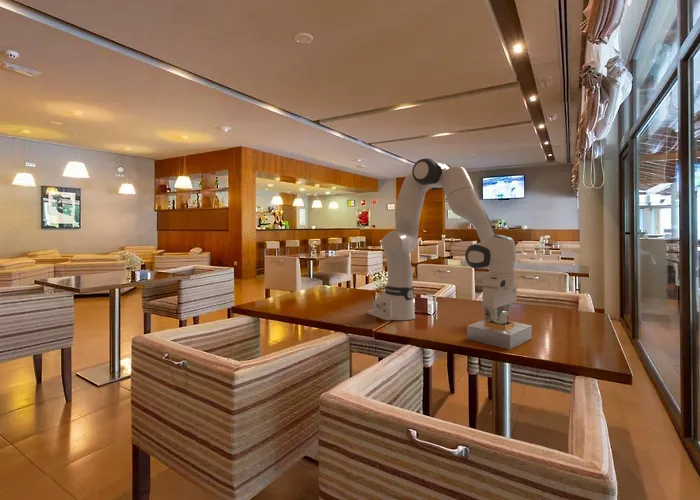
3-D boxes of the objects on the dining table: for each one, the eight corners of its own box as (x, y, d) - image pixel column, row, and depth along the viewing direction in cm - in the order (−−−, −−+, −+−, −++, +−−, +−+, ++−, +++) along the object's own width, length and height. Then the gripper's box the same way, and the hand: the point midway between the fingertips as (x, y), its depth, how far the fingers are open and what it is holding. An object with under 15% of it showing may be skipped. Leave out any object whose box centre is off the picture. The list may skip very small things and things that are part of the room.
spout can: (485, 333, 143) (485, 309, 142) (490, 331, 146) (491, 307, 145) (502, 337, 138) (503, 312, 137) (508, 335, 141) (509, 310, 140)
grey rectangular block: (466, 338, 141) (467, 322, 140) (490, 329, 153) (490, 314, 153) (509, 349, 129) (510, 331, 129) (531, 338, 141) (532, 322, 141)
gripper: (505, 276, 149) (504, 311, 150) (479, 281, 135) (478, 320, 136) (522, 278, 144) (520, 314, 145) (496, 283, 130) (495, 323, 131)
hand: (499, 317), depth 141 cm, fingers open, 8 cm apart
